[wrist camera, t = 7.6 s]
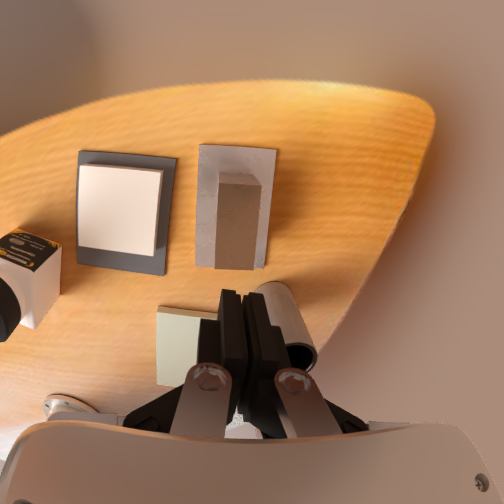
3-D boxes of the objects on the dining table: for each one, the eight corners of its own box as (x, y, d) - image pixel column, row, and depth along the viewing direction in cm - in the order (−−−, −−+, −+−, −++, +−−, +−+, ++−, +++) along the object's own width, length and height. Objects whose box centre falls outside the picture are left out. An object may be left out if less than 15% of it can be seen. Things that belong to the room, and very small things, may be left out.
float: (262, 265, 32) (272, 296, 26) (195, 262, 31) (191, 294, 25) (274, 149, 27) (290, 155, 21) (199, 144, 26) (194, 148, 21)
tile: (153, 256, 28) (160, 172, 25) (78, 245, 26) (79, 165, 23) (156, 249, 29) (163, 170, 26) (84, 240, 28) (86, 163, 25)
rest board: (223, 385, 38) (224, 391, 37) (157, 378, 36) (156, 384, 35) (237, 315, 34) (238, 321, 32) (158, 305, 32) (156, 311, 31)
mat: (164, 274, 31) (163, 276, 30) (78, 262, 29) (77, 263, 29) (176, 159, 26) (176, 159, 26) (79, 150, 24) (78, 151, 24)
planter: (250, 315, 34) (262, 382, 24) (252, 280, 32) (267, 343, 23) (289, 315, 34) (312, 378, 25) (294, 280, 33) (322, 340, 23)
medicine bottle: (63, 243, 28) (5, 301, 17) (60, 296, 30) (15, 362, 19) (15, 226, 26) (-48, 273, 15) (16, 279, 29) (-36, 334, 18)
